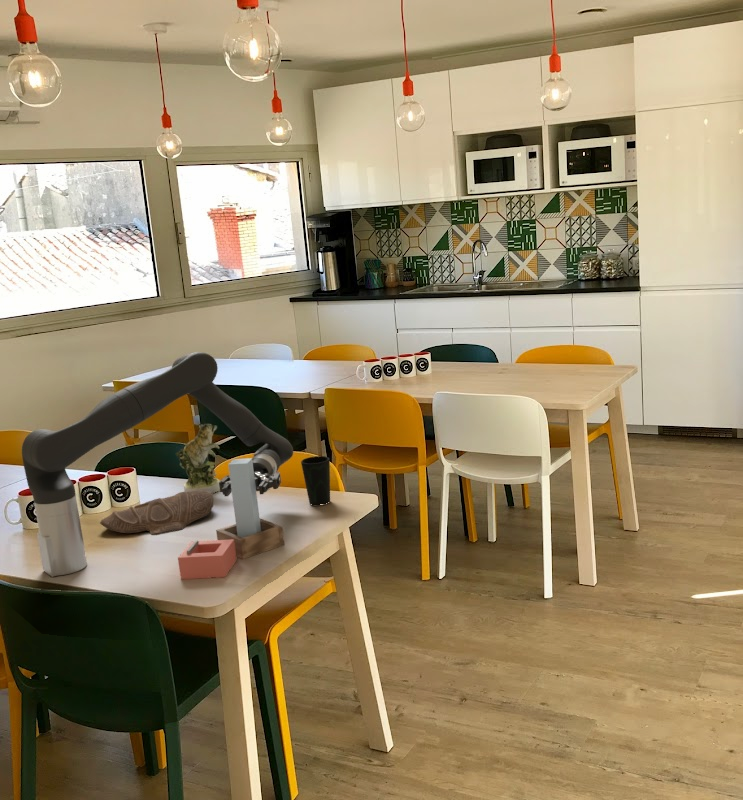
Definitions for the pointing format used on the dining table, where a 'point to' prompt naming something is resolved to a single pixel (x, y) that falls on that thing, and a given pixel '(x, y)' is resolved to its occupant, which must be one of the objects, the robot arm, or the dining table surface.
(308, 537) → the dining table surface
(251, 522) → the pale blue tall pillar
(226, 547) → the pink square holder
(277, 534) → the tray
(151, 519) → the decorative mask
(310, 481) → the cup
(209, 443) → the figurine
